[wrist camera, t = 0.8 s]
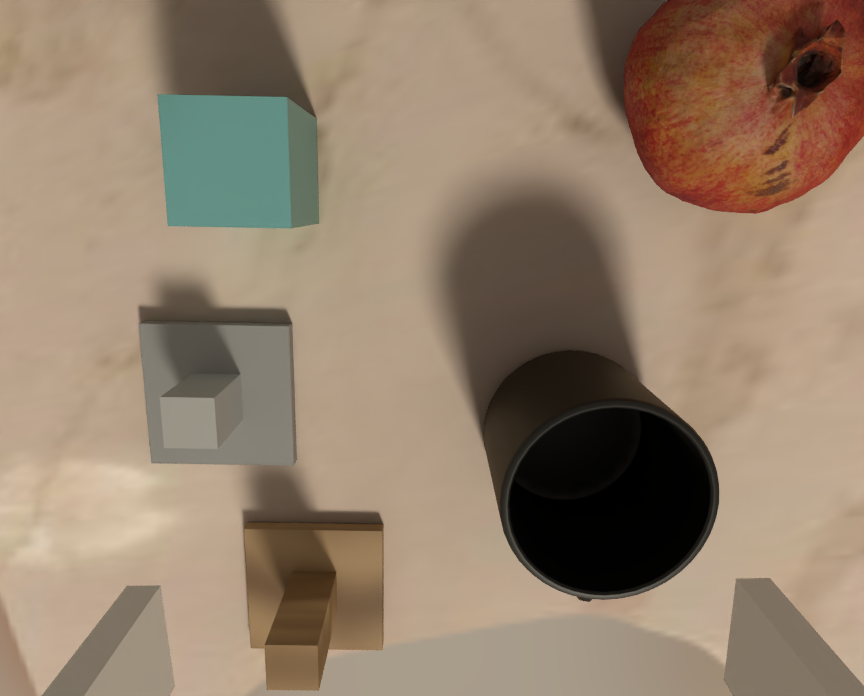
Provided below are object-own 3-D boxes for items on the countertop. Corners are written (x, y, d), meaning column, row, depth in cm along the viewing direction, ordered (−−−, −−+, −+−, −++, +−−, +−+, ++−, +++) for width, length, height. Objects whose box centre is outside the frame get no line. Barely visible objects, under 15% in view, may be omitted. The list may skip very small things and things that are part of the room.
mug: (481, 544, 37) (497, 651, 28) (483, 349, 34) (502, 399, 25) (639, 543, 37) (704, 650, 28) (654, 347, 34) (732, 398, 25)
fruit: (792, 205, 32) (948, 206, 23) (602, 220, 32) (675, 228, 23) (804, -20, 30) (985, -128, 20) (598, -2, 30) (679, -100, 20)
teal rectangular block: (213, 116, 31) (157, 94, 25) (316, 118, 31) (286, 97, 25) (220, 221, 32) (167, 225, 26) (319, 223, 32) (291, 228, 26)
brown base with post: (248, 521, 36) (205, 595, 30) (383, 524, 36) (372, 598, 30) (254, 639, 38) (215, 733, 31) (383, 641, 38) (373, 735, 31)
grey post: (145, 320, 34) (96, 340, 29) (292, 323, 34) (268, 343, 29) (157, 457, 35) (113, 498, 31) (296, 459, 35) (275, 500, 31)
